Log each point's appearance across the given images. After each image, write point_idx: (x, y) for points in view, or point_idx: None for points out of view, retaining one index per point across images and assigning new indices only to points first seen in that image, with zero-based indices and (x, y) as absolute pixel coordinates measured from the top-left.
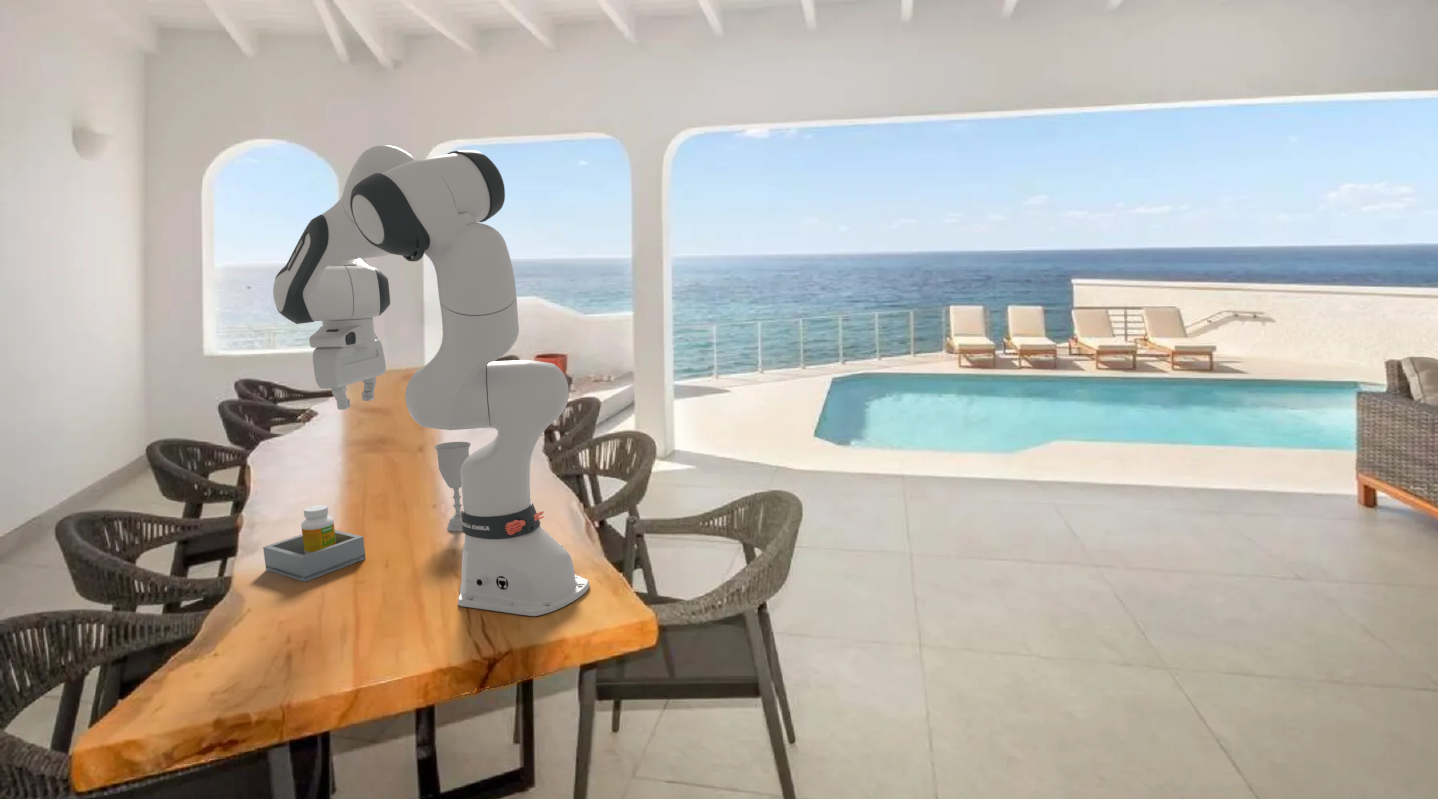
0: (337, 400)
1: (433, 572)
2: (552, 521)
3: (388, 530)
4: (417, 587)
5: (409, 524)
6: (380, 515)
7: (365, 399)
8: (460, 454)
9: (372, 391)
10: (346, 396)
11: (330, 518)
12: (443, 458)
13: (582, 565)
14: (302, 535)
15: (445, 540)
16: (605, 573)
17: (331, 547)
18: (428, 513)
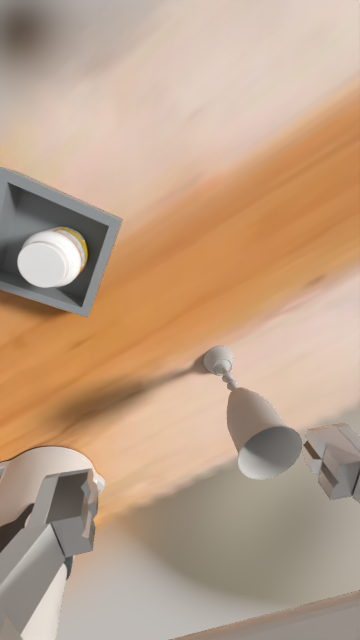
0: (26, 531)
1: (69, 404)
2: None
3: (207, 270)
4: (25, 410)
5: (233, 288)
6: (280, 215)
7: (309, 441)
8: (245, 460)
9: (354, 494)
10: (45, 591)
11: (60, 283)
12: (236, 434)
13: (113, 507)
14: (73, 206)
15: (170, 366)
16: (99, 526)
17: (31, 298)
18: (280, 289)
